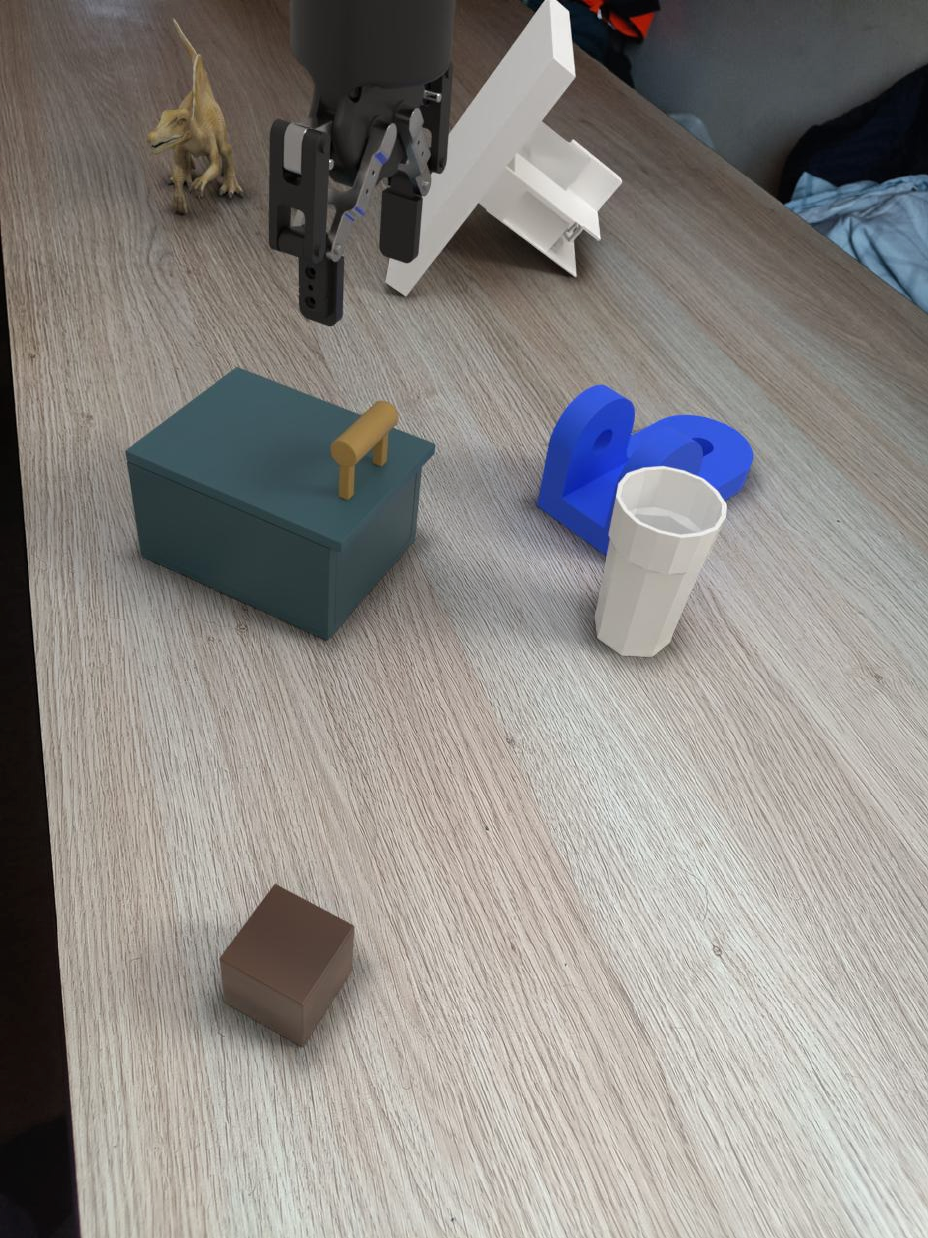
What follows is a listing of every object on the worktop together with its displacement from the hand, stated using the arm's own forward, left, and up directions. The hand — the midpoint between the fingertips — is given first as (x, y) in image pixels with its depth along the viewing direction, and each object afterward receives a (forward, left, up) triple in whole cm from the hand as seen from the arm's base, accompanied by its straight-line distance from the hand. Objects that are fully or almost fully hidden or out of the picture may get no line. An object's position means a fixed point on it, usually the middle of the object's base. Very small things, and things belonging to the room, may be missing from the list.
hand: (361, 287), depth 58 cm
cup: (+11, -16, -21) cm, 28 cm away
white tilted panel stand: (+41, +28, -21) cm, 54 cm away
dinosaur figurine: (+23, +54, -21) cm, 62 cm away
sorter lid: (-3, +3, -12) cm, 13 cm away
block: (-21, -22, -20) cm, 37 cm away
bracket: (+24, -7, -21) cm, 32 cm away
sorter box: (-3, +4, -20) cm, 21 cm away
